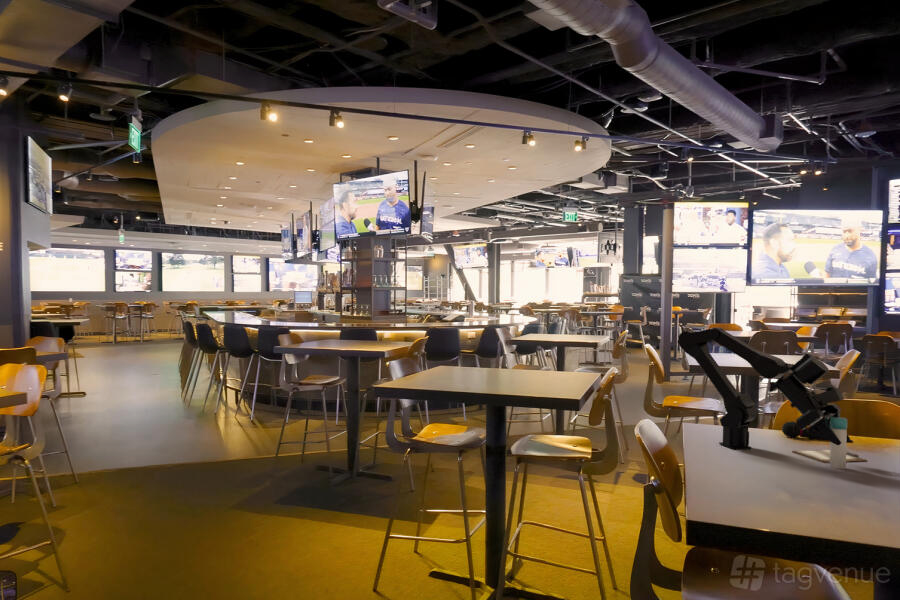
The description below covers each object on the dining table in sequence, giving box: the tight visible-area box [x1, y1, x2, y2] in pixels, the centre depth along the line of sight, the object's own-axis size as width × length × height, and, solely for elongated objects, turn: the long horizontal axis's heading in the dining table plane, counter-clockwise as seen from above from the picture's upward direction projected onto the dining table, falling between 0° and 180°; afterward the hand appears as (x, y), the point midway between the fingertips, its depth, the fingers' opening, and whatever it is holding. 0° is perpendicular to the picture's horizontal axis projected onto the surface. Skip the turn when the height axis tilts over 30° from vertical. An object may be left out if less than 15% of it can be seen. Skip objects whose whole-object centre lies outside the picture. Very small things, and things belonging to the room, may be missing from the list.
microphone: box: [781, 420, 854, 443], centre depth 184 cm, size 6×6×20 cm
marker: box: [829, 416, 848, 470], centre depth 151 cm, size 4×4×13 cm
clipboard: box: [791, 449, 868, 464], centre depth 162 cm, size 14×11×1 cm
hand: (844, 442), depth 150 cm, fingers open, 7 cm apart
